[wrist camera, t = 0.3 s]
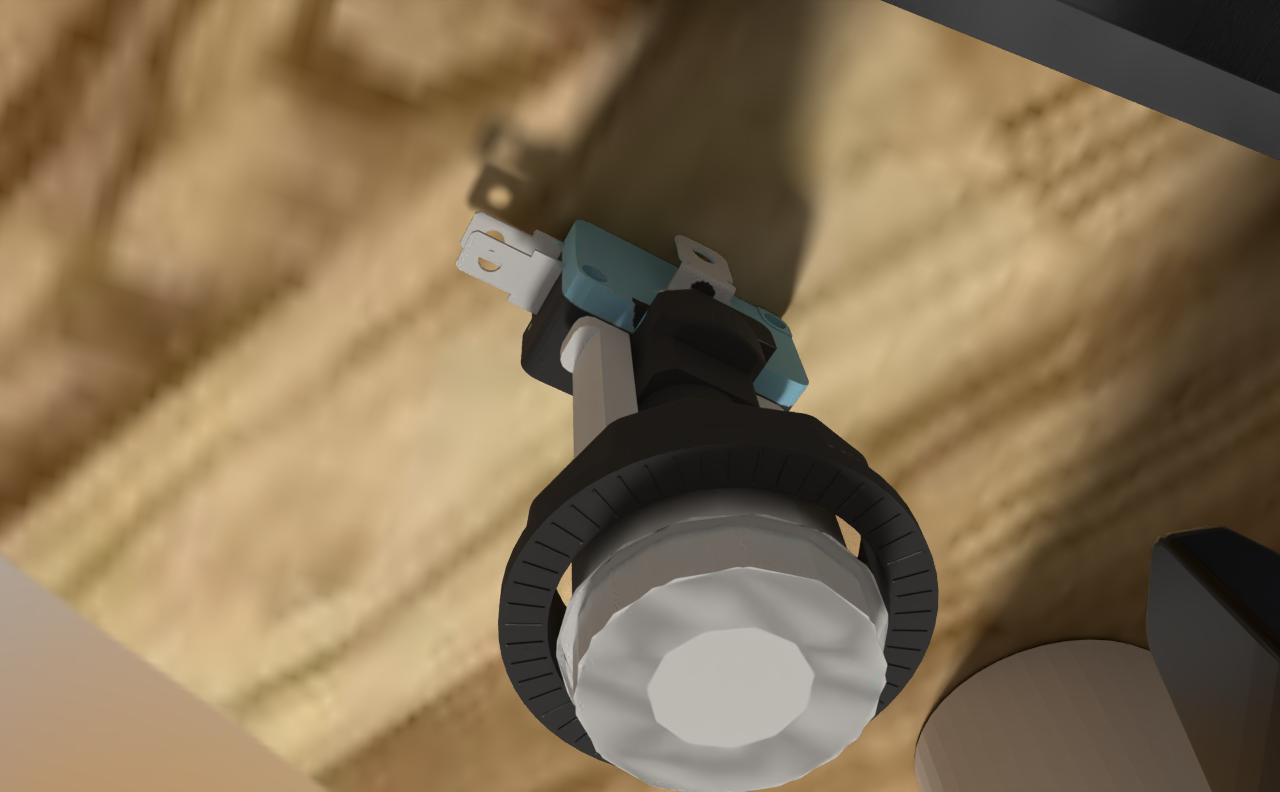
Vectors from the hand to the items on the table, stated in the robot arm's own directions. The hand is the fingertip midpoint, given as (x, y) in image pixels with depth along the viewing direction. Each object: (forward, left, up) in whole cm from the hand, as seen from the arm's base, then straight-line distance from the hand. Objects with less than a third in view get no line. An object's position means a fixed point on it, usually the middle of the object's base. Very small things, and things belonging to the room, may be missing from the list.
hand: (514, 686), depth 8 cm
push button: (-3, +2, -13) cm, 14 cm away
